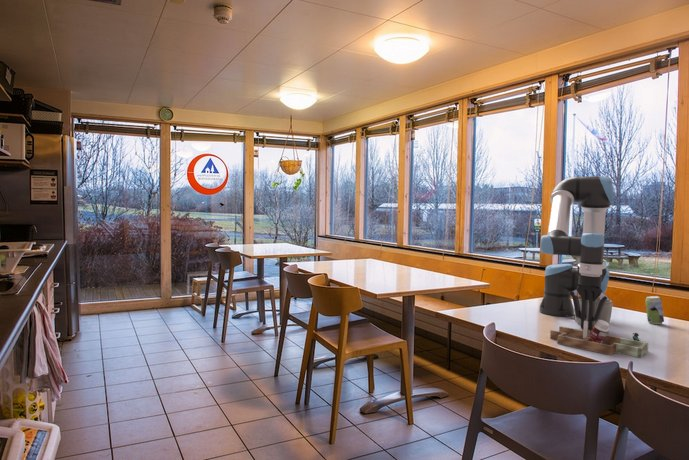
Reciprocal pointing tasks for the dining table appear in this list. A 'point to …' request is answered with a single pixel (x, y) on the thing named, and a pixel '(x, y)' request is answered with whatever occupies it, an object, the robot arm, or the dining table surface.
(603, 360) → the dining table surface
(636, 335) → the sculpture
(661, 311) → the beverage can
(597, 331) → the pill bottle
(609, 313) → the planter
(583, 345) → the open divided box
